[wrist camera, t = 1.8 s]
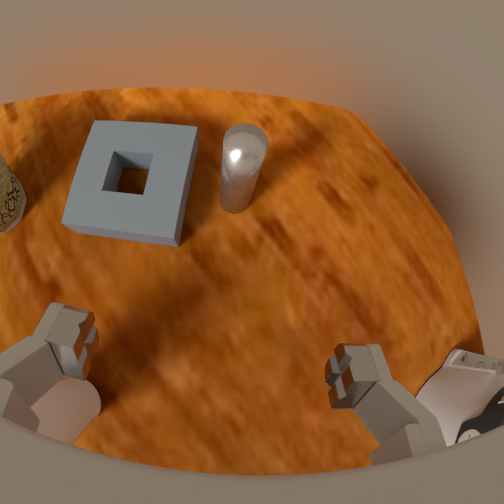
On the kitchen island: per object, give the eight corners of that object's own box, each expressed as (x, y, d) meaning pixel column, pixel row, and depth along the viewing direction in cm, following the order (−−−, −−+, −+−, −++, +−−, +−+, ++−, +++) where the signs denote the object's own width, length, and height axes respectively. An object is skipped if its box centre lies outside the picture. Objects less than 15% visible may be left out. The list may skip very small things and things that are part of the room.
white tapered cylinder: (88, 436, 26) (23, 497, 11) (46, 392, 26) (-36, 427, 11) (120, 401, 27) (58, 459, 12) (76, 355, 27) (-10, 379, 13)
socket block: (198, 145, 33) (197, 126, 29) (178, 247, 31) (173, 238, 27) (104, 138, 32) (94, 120, 28) (76, 232, 30) (61, 222, 26)
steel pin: (251, 188, 33) (270, 127, 21) (247, 215, 32) (265, 164, 21) (222, 183, 33) (227, 120, 21) (217, 211, 32) (220, 157, 20)
